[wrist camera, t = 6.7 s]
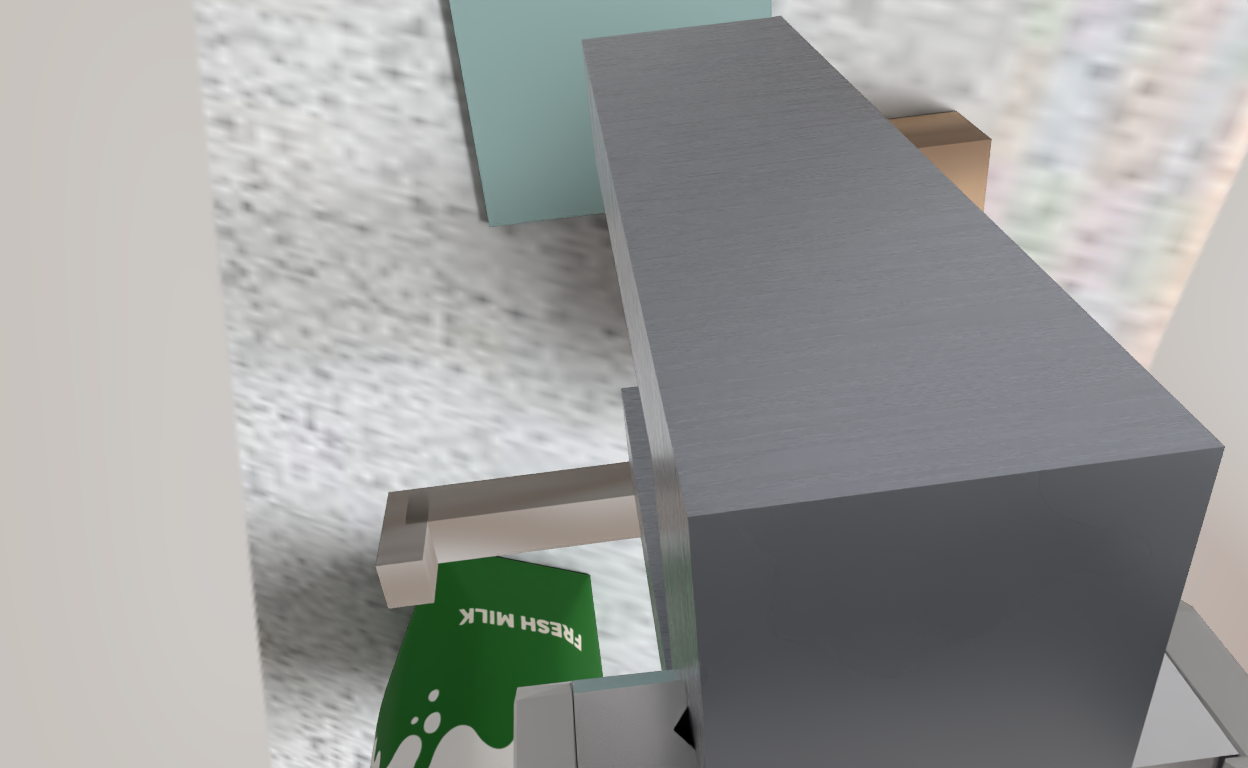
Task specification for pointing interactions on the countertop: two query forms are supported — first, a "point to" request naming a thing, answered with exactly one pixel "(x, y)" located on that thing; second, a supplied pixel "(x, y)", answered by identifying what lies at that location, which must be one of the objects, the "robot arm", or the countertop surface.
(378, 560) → the wooden peg hook block
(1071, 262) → the countertop surface
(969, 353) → the grey arched block
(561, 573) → the milk carton
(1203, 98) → the countertop surface
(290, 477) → the countertop surface
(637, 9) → the mat
